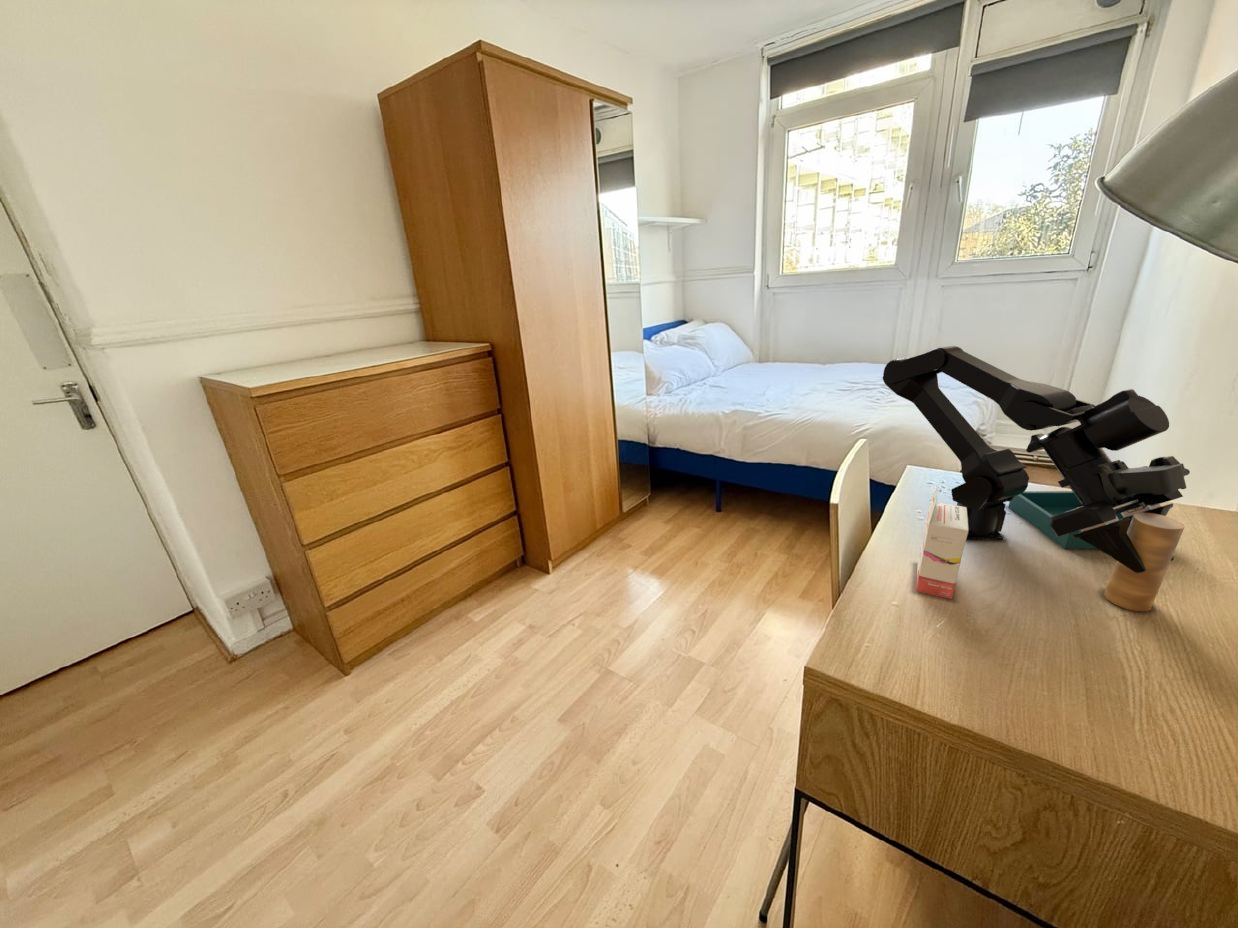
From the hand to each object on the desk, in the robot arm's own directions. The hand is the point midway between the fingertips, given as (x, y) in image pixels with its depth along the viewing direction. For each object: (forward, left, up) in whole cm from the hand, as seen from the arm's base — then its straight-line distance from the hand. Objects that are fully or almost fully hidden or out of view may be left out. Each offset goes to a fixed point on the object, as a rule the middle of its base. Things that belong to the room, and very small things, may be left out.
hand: (1155, 566), depth 67 cm
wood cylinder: (-1, +1, -7) cm, 7 cm away
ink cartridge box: (-25, +5, -7) cm, 26 cm away
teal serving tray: (+8, +23, -7) cm, 26 cm away
